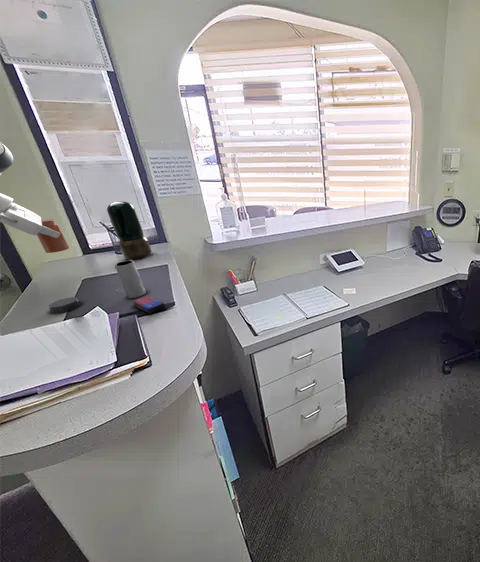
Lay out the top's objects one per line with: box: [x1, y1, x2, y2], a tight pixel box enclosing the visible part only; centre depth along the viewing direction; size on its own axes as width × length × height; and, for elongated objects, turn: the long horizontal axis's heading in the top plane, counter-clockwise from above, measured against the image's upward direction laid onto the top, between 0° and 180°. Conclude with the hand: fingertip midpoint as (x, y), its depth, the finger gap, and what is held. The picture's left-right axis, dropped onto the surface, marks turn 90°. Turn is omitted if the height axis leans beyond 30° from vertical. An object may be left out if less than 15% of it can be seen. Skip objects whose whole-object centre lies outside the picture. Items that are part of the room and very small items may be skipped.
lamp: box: [106, 200, 153, 260], centre depth 121 cm, size 10×10×22 cm
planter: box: [114, 259, 147, 299], centre depth 90 cm, size 4×4×10 cm
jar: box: [35, 218, 70, 254], centre depth 97 cm, size 6×6×10 cm
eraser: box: [133, 295, 165, 315], centre depth 84 cm, size 11×4×2 cm, turn 56°
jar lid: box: [48, 296, 81, 314], centre depth 86 cm, size 6×6×2 cm
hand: (58, 233), depth 98 cm, fingers closed on jar, 5 cm apart
